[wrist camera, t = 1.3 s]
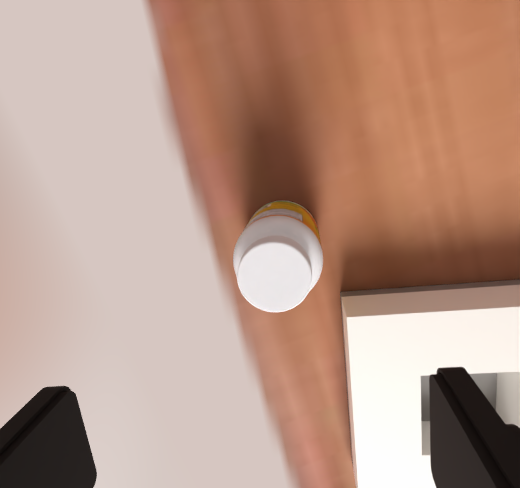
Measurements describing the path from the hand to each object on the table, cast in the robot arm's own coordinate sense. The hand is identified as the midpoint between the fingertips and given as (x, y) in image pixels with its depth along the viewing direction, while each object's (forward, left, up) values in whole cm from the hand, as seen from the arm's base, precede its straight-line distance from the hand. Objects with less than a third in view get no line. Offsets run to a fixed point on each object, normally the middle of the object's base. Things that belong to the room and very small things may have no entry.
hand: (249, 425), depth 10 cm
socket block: (+13, +12, -20) cm, 27 cm away
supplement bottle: (0, 0, -21) cm, 21 cm away
